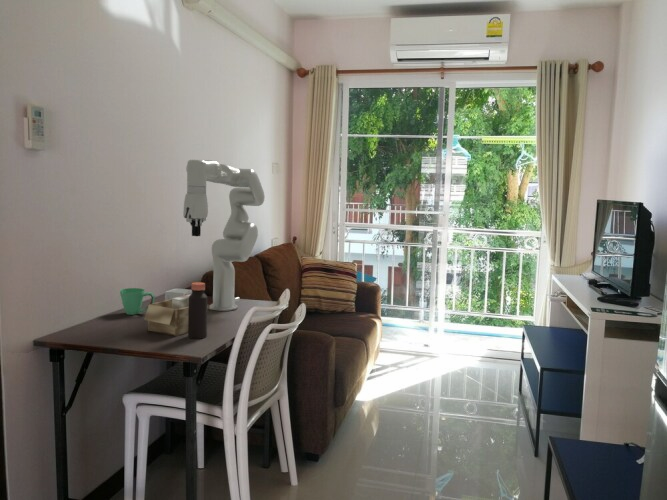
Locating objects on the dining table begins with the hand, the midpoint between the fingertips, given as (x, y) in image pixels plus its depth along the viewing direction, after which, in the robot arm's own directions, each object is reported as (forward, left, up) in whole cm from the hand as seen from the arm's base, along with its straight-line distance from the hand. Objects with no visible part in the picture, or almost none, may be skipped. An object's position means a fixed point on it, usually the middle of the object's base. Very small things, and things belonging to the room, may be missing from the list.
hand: (196, 235), depth 226 cm
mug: (+6, -26, -35) cm, 44 cm away
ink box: (+1, -8, -35) cm, 36 cm away
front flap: (+25, +4, -27) cm, 37 cm away
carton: (+15, +4, -35) cm, 38 cm away
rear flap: (+4, +4, -27) cm, 27 cm away
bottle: (+19, +17, -35) cm, 43 cm away
